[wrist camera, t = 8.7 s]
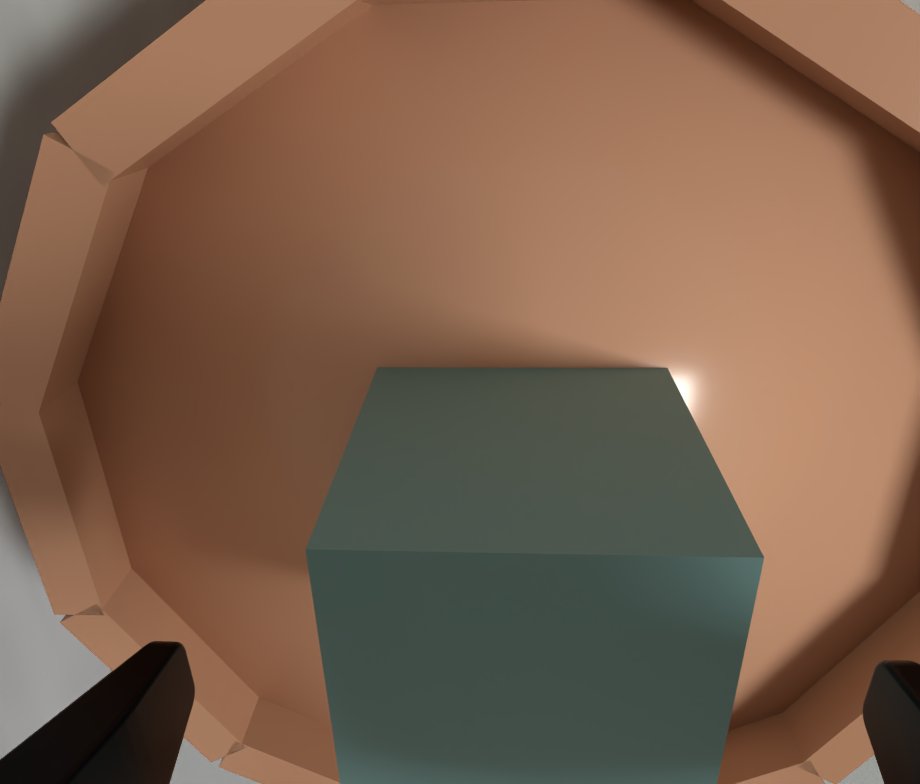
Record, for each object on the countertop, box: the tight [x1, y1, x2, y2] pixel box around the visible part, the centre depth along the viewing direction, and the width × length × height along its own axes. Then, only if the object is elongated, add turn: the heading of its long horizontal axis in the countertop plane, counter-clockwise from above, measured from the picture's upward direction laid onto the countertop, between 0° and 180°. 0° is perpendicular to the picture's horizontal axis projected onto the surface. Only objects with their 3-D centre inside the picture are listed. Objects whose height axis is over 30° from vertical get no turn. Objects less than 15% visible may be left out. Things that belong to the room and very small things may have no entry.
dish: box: [0, 0, 920, 784], centre depth 13 cm, size 18×18×2 cm
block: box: [305, 367, 764, 784], centre depth 11 cm, size 5×5×5 cm
